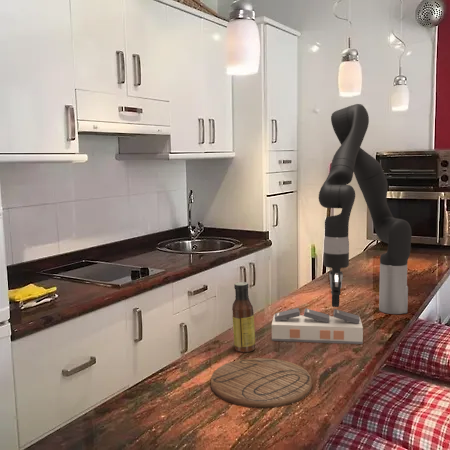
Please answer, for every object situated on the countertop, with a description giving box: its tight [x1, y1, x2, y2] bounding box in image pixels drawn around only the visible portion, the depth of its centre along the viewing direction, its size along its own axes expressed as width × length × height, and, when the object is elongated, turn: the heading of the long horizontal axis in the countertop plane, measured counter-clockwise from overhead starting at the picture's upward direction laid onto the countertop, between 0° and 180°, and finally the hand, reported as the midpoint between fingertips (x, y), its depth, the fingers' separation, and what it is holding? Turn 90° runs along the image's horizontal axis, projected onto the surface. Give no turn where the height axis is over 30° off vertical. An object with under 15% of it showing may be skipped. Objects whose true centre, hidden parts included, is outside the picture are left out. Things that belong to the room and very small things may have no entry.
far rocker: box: [274, 307, 301, 321], centre depth 162 cm, size 8×4×2 cm, turn 80°
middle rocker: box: [303, 308, 330, 323], centre depth 161 cm, size 8×4×2 cm, turn 81°
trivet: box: [210, 357, 312, 409], centre depth 130 cm, size 25×25×2 cm
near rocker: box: [332, 308, 361, 324], centre depth 159 cm, size 8×4×2 cm, turn 81°
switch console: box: [271, 314, 364, 345], centre depth 161 cm, size 27×10×5 cm, turn 81°
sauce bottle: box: [231, 281, 256, 353], centre depth 151 cm, size 6×6×20 cm
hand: (335, 306), depth 159 cm, fingers closed
